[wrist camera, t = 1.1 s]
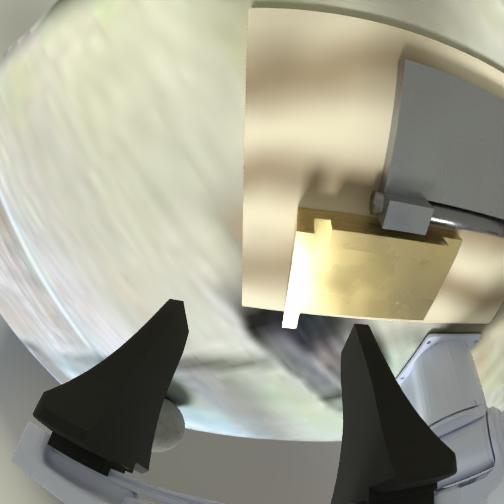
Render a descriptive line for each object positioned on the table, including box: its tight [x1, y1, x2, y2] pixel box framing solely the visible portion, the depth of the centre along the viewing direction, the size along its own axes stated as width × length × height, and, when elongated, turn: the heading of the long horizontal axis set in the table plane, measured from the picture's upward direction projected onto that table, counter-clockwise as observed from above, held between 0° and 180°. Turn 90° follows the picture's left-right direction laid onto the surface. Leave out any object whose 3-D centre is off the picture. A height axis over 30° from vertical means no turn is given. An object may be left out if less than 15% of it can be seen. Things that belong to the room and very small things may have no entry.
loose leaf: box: [282, 207, 463, 328], centre depth 18 cm, size 8×12×3 cm
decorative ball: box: [152, 398, 185, 452], centre depth 38 cm, size 10×10×10 cm
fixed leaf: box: [369, 59, 504, 239], centre depth 12 cm, size 10×17×2 cm, turn 88°
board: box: [242, 8, 504, 324], centre depth 16 cm, size 22×26×1 cm
